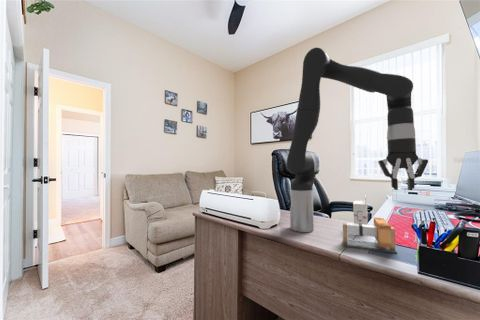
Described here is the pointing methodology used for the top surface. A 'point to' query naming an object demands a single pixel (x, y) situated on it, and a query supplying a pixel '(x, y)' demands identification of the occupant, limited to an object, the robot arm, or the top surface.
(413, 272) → the top surface
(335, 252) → the top surface
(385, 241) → the tan cardboard carton
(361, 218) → the ink cartridge box
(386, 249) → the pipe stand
